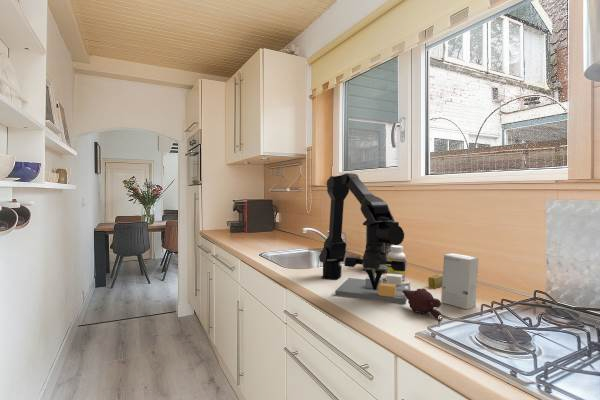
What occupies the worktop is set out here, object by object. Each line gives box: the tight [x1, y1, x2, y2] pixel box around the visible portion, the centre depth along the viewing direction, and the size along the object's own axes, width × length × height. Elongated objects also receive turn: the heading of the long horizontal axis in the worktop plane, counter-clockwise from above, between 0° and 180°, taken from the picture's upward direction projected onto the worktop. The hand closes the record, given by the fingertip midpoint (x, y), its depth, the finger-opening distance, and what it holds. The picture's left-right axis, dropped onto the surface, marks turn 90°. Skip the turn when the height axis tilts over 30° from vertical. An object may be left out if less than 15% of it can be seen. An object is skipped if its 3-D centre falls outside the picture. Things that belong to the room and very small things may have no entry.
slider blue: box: [365, 276, 383, 289], centre depth 115 cm, size 5×4×3 cm
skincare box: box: [440, 253, 479, 310], centre depth 102 cm, size 8×6×15 cm
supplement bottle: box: [387, 245, 406, 282], centre depth 131 cm, size 7×7×13 cm
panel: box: [334, 277, 411, 305], centre depth 115 cm, size 22×18×3 cm
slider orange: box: [378, 283, 396, 297], centre depth 106 cm, size 5×4×3 cm
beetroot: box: [402, 287, 443, 320], centre depth 96 cm, size 7×7×15 cm
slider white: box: [385, 273, 403, 286], centre depth 119 cm, size 5×4×3 cm
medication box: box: [427, 272, 443, 290], centre depth 124 cm, size 12×3×4 cm, turn 128°
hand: (374, 289), depth 108 cm, fingers closed
